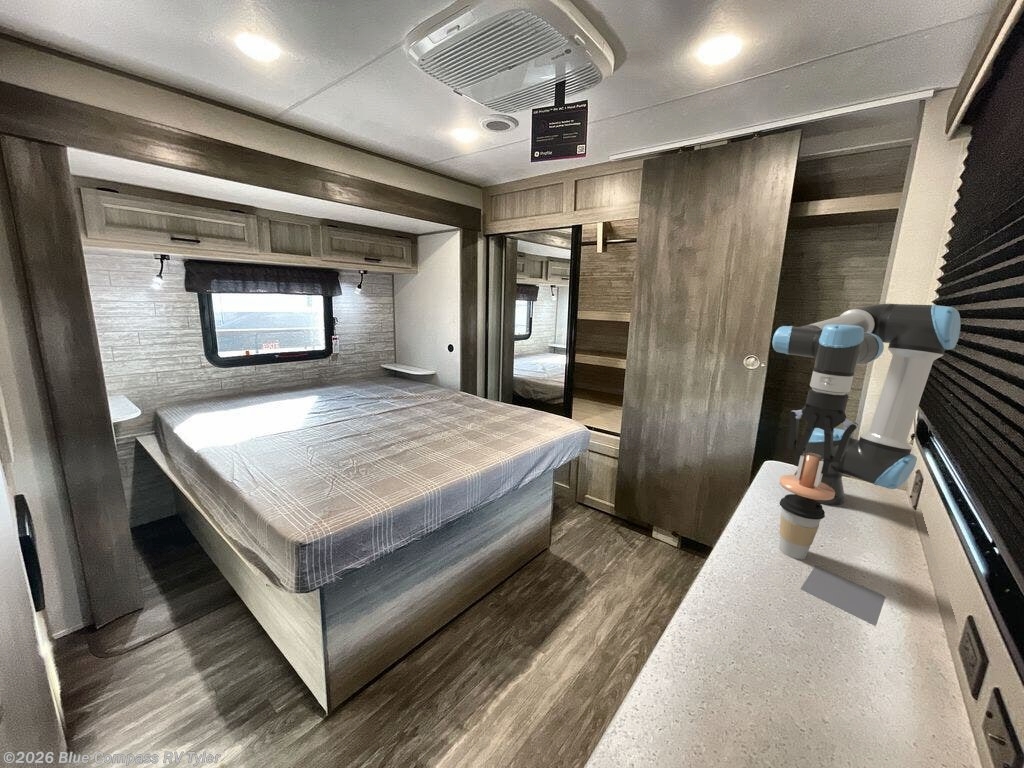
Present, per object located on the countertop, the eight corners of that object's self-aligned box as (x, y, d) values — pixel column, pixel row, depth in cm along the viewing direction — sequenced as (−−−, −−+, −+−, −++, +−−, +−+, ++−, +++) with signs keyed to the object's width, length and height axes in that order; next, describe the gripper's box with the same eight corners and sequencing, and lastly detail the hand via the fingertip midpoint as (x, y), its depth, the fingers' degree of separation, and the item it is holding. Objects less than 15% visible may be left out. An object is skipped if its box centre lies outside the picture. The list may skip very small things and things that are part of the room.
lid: (787, 474, 107) (794, 443, 105) (839, 491, 99) (847, 457, 97) (773, 486, 100) (780, 453, 98) (827, 505, 92) (836, 469, 90)
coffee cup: (821, 568, 99) (834, 514, 95) (779, 562, 101) (791, 509, 97) (802, 545, 108) (814, 495, 104) (764, 539, 110) (774, 490, 106)
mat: (815, 567, 99) (815, 565, 99) (884, 598, 90) (885, 595, 90) (799, 591, 91) (800, 588, 91) (874, 628, 81) (875, 625, 81)
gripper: (784, 385, 97) (766, 473, 103) (871, 401, 86) (845, 500, 91) (793, 382, 102) (775, 466, 108) (876, 396, 90) (852, 490, 96)
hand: (807, 481), depth 99 cm, fingers closed on lid, 3 cm apart
